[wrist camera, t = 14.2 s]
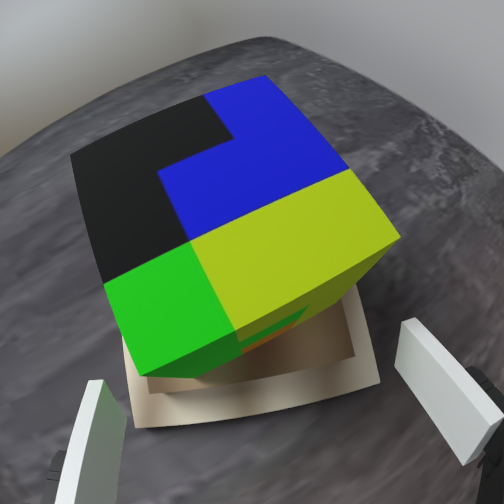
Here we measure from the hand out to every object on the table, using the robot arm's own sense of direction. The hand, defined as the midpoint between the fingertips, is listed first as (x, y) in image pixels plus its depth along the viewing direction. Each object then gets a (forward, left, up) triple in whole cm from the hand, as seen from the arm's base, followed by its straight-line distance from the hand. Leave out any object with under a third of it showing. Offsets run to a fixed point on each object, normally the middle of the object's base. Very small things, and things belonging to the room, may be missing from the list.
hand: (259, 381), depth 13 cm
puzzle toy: (0, +7, -6) cm, 9 cm away
